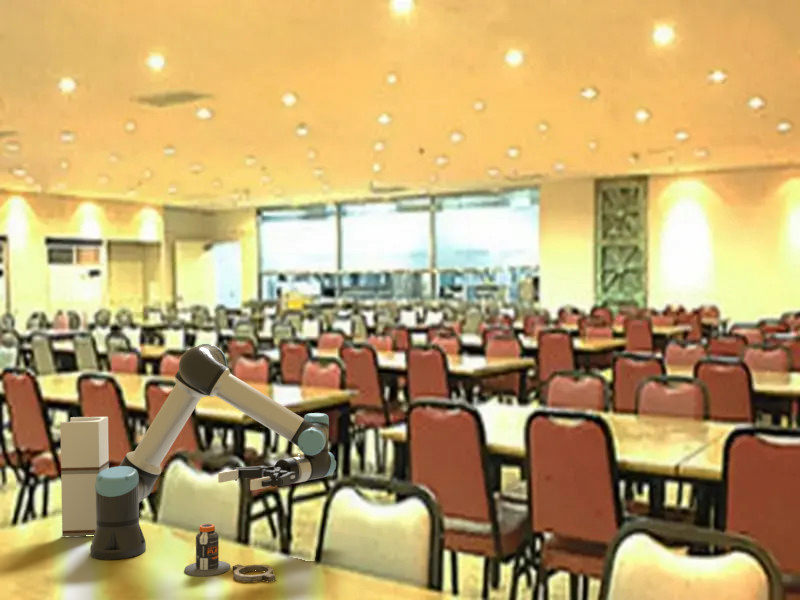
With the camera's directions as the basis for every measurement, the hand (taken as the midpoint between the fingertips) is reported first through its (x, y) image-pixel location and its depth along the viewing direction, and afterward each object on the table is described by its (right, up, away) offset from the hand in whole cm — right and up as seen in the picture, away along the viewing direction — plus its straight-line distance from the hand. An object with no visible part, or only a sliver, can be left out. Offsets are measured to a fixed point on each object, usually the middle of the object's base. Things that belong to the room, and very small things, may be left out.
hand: (234, 481), depth 249 cm
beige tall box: (-52, -22, +32) cm, 65 cm away
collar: (+7, -22, -13) cm, 27 cm away
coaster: (-6, -22, -7) cm, 24 cm away
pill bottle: (-6, -22, -7) cm, 24 cm away
